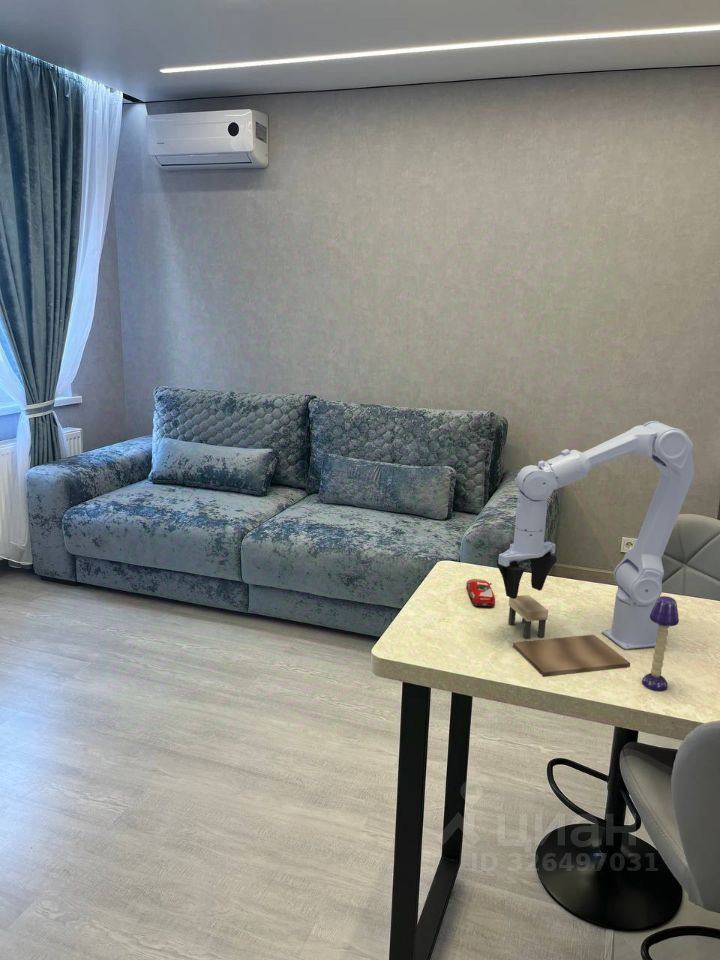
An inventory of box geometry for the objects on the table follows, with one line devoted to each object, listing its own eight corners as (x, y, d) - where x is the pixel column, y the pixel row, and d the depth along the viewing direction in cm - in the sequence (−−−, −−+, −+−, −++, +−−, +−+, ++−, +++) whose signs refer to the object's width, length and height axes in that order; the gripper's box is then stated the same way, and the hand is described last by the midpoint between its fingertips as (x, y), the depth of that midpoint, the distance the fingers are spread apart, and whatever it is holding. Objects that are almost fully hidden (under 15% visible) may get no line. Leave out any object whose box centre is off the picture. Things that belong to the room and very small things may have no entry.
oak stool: (526, 621, 150) (528, 594, 149) (545, 637, 143) (548, 610, 141) (507, 622, 149) (509, 596, 148) (525, 639, 142) (527, 612, 140)
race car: (464, 587, 169) (465, 571, 168) (487, 588, 169) (488, 572, 168) (471, 609, 156) (472, 592, 155) (496, 610, 156) (497, 593, 155)
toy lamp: (673, 692, 123) (687, 604, 119) (647, 693, 123) (660, 604, 119) (660, 678, 128) (672, 593, 124) (635, 679, 128) (647, 593, 124)
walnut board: (593, 638, 143) (593, 634, 143) (629, 666, 132) (630, 662, 132) (512, 646, 139) (513, 642, 138) (543, 676, 127) (543, 672, 127)
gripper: (538, 517, 145) (532, 579, 148) (488, 528, 136) (483, 593, 139) (566, 525, 139) (559, 590, 143) (517, 538, 131) (511, 606, 134)
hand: (524, 592), depth 141 cm, fingers open, 7 cm apart
